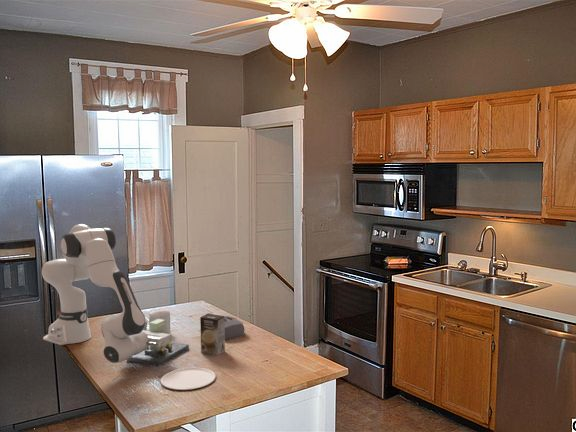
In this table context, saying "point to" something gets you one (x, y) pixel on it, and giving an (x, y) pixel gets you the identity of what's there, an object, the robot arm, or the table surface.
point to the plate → (188, 378)
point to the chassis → (159, 354)
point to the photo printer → (161, 315)
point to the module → (157, 330)
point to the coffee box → (212, 334)
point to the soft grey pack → (233, 328)
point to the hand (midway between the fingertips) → (159, 331)
